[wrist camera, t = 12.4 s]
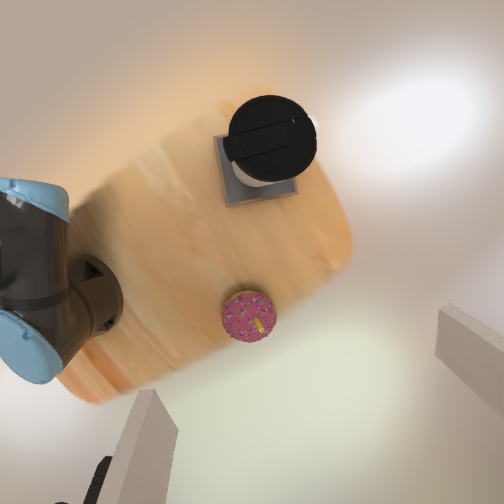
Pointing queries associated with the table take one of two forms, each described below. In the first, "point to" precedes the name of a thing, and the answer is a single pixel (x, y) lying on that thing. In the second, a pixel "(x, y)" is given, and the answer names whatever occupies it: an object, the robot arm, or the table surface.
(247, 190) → the walnut stand
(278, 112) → the travel mug
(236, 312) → the cupcake
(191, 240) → the table surface
